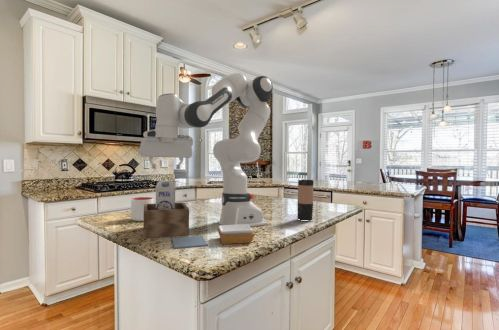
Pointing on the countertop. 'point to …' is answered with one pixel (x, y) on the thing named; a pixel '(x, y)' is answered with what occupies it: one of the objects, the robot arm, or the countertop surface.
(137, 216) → the cup
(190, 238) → the mat
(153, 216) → the crate
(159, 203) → the milk carton
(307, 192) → the travel mug
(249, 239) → the soap dish
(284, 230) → the countertop surface
